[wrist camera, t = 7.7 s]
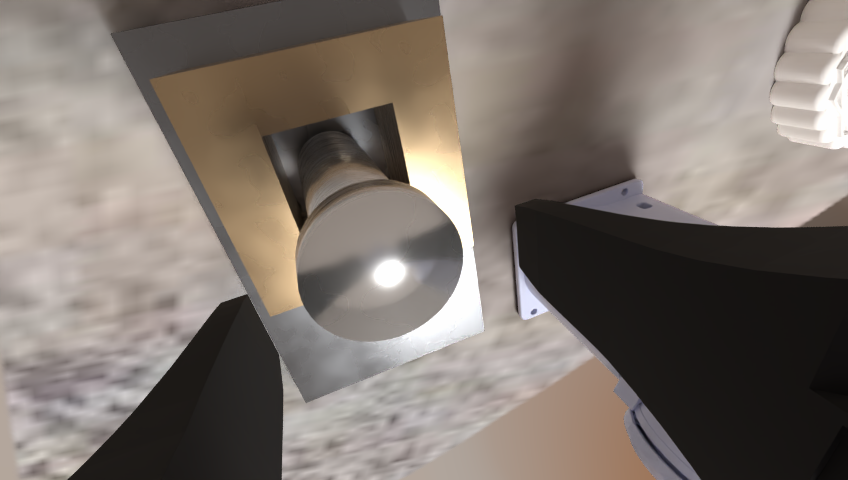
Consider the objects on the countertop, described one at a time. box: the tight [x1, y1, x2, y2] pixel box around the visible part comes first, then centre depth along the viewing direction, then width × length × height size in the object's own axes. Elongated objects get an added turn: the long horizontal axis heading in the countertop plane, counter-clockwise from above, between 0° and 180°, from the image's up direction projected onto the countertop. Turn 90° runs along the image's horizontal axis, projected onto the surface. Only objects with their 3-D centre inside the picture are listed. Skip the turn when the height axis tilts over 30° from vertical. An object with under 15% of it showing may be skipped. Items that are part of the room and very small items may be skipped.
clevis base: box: [111, 0, 484, 403], centre depth 18 cm, size 12×20×5 cm, turn 11°
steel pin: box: [295, 131, 463, 342], centre depth 13 cm, size 4×4×10 cm
